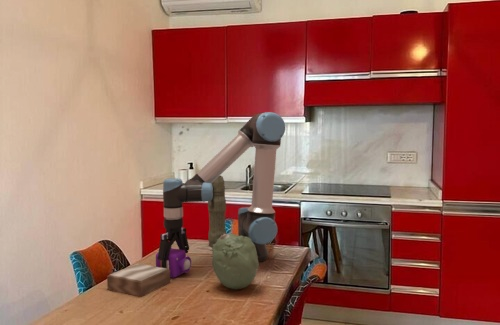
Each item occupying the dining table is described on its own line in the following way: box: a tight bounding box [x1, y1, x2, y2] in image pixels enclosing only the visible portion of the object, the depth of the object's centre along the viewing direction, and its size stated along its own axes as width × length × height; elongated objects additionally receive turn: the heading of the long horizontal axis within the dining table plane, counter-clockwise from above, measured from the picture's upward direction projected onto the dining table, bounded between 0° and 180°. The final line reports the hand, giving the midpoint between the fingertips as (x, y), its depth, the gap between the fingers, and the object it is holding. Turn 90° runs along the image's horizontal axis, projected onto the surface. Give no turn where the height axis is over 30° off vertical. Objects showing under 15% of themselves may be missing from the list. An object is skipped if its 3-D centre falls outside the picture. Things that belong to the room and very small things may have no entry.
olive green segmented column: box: [207, 175, 227, 248], centre depth 217 cm, size 9×12×35 cm
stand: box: [106, 262, 171, 298], centre depth 162 cm, size 16×16×5 cm
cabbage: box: [209, 233, 260, 290], centre depth 159 cm, size 16×19×20 cm
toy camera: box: [155, 247, 192, 278], centre depth 174 cm, size 11×14×10 cm
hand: (174, 272), depth 174 cm, fingers closed on toy camera, 10 cm apart
